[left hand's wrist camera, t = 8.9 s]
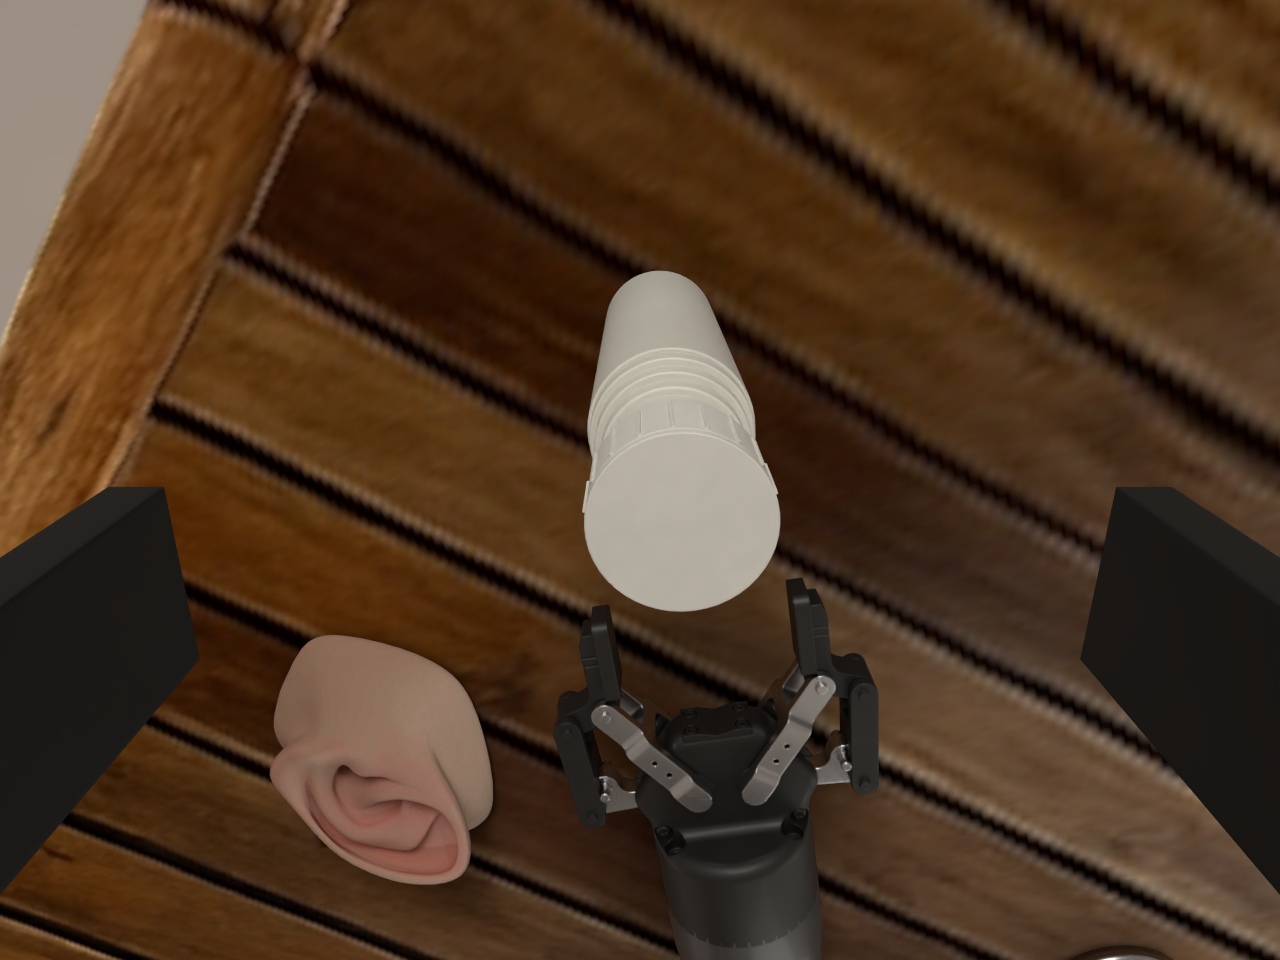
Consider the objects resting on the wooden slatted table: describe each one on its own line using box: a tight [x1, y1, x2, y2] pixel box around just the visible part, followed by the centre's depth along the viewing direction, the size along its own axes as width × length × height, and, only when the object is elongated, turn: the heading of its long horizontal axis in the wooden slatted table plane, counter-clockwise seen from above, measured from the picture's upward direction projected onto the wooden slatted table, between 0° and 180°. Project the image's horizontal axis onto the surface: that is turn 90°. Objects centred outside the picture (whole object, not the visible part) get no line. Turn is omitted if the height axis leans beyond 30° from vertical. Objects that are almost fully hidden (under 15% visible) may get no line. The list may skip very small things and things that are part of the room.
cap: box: [583, 401, 780, 612], centre depth 20 cm, size 4×4×2 cm
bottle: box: [588, 271, 755, 459], centre depth 30 cm, size 5×5×22 cm
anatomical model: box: [270, 635, 493, 885], centre depth 46 cm, size 13×4×12 cm
